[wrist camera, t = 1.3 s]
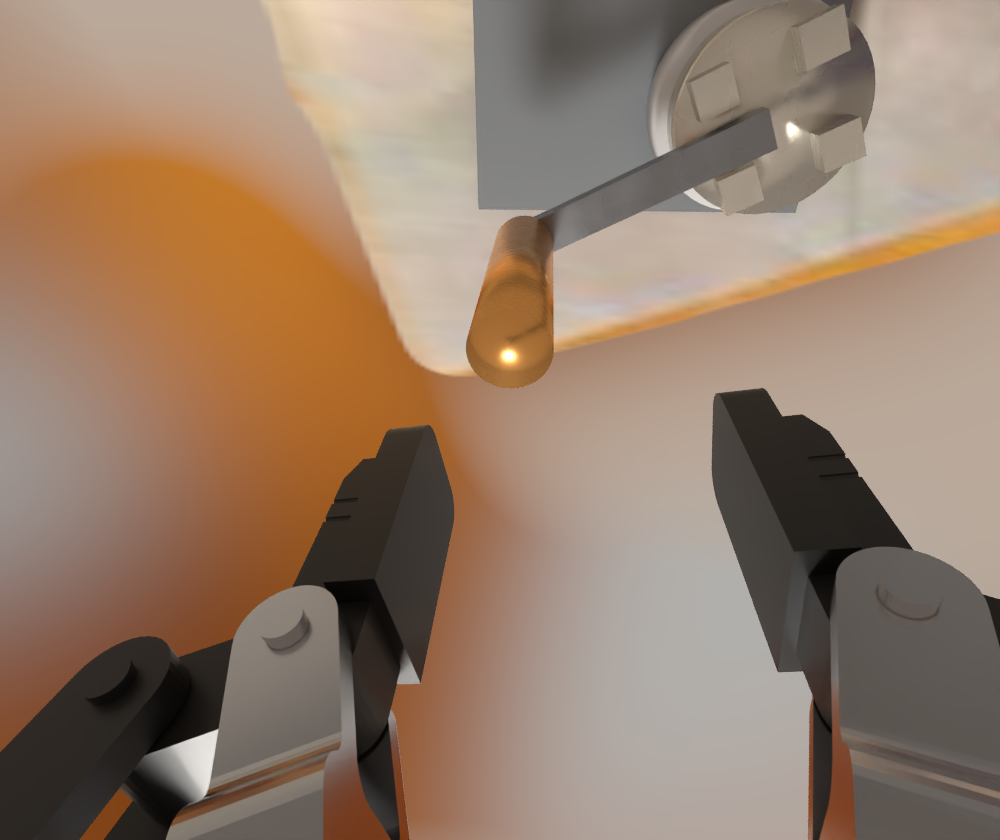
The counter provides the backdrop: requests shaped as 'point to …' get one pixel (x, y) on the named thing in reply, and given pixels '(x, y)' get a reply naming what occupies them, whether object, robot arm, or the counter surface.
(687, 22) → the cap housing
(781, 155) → the hub and bar
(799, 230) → the counter surface
